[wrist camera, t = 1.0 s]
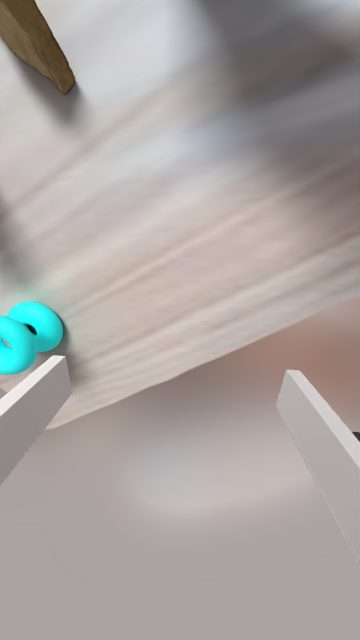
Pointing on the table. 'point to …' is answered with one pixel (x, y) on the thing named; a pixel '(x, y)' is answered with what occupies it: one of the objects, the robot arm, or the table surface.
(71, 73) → the rock
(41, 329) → the donuts
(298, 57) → the table surface
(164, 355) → the table surface
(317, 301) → the table surface
